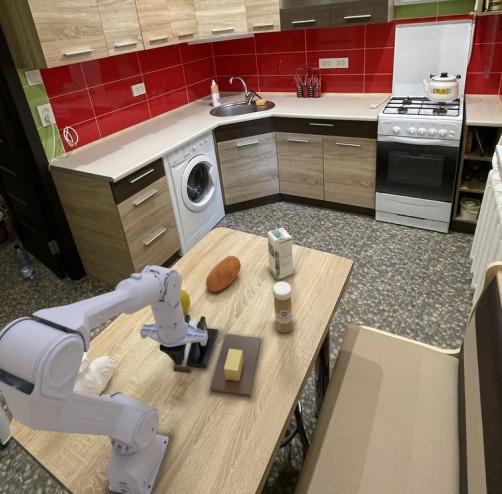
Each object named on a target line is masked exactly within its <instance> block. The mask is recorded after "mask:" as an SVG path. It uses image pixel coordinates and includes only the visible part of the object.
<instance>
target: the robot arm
mask: <svg viewBox="0 0 502 494" xmlns="http://www.w3.org/2000/svg"><path fill="white" fill-rule="evenodd" d="M182 284H183V275H181V274H180V273H179V271H178V270H176V269H172V268H168V267H163V266H160V265H156V264H155V265H153V264H148V265H146V266H145V267H144V268H143V269H142V271H141V272H140V273H137V272H133V273H131V274H130V277H129V278H126V279H122V280H121V281H120V282H119V283H118V284H117V285H116V286H115V289H114V290H113V291H110V292H106V293H103V294H99V295H96V296H93V297H89V298H86V299H83V300H79V301H77V302H73V303H70V304H66V305H61V306H60V305H59V306H55V307H49V308H43V309H39V310H37V311H35V312H33V313H32V314H31V315H32V316H34V317H37V318H36V319H35V318H33V317H30V316H23V317H18V318H16V319H14V320H12V321H10V322H9V323H8V324H7V325H5V326H4V327H3V328H2V329H1V330H0V391H1V394H2V396H3V398H4V400H5V402H6V404H7V406H8V409H9V411H10V413H11V416H12V418H13V419H14V421H16V422H18V423H19V424H21V425H22V426H24V427H27V428H29V429H31V430H33V431H41V432H51V433H52V432H53V433H65V434H77V435H89V436H90V435H91V436H102V437H108V438H109V441H110V444H111V449H110V456H109V459H108V462H107V465H106V467H105V469H104V475H105V477H106V479H107V481H108V488H107V489H108V490H109V491H111V492H115V493H119V494H151V493H152V491H153V487H154V485H155V482H156V478H157V476H158V474H159V470H160V468H161V464H162V462H163V458H164V455H165V453H166V450H167V447H168V444H169V441H170V438H169V436H167V435H161V434H157V430H158V427H159V425H160V424H159V423H160V412H159V411H160V410H159V409H158V408H157V407H156V406H151V405H148V404H146V403H143V402H142V401H139V400H137V399H135V398H132V397H130V396H128V395H125V394H123V393H122V392H121V391H119V390H115V391H112V392H110V393H109V394H101V395H94V394H90V393H86V392H81V391H77V390H73V389H74V386H75V382H76V379H77V376H78V372H79V369H80V366H81V362H82V358H83V354H84V352H86V353H87V352H88V350H90V346H91V335H90V332H91V330H93V329H94V328H96V327H99V326H100V325H101V324H103V323H105V322H106V321H108V320H110V319H112V318H113V317H115V316H117V315H118V314H120V313H122V314H125V315H134V314H135V313H137V312H139V311H141V310H143V309H145V308H147V307H149V306H150V308H151V311H152V315H153V320H154V323H143V324H142V326H141V328H140V330H139V335H140V338H141V339H146V338H147V337H148V338H150V339H151V340H153V341H155V342H156V343H158V344H159V346H158V347H159V351H160V352H163V353H164V354H166V355H167V356H168V357H169V358H170V359H171V360H172V362H173V363H174V364H175V365H180V366H181V365H182V362H183V360H184V355H185V346H186V344H188V343H193V342H200V343H201V345H204V346H205V345H206V342H207V339H208V334H207V331H203V330H200V329H198V328H196V327H194V326H192V325H190V324H188V323H186V322H185V319H184V318H185V315H184V314H183V310H182V306H181V301H180V299H181V295H182V294H181V290H182Z"/></svg>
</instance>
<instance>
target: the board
mask: <svg viewBox="0 0 502 494" xmlns="http://www.w3.org/2000/svg"><path fill="white" fill-rule="evenodd" d="M260 345H261V337H255V336H246V335H236V334H228V333H227V334H225V336H224V340H223V343H222V347H221V351H220V354H219V357H218V361H217V364H216V368H215V371H214V373H213V374H214V375H213V378H212V382H211V385H210V389H209V390H210V392H214V393H219V394H220V393H221V394H227V395H234V396H241V397H246V398H247V397H248V398H251V395H252V390H253V385H254V378H255V373H256V368H257V367H256V366H257V363H258V357H259V352H260V351H259V350H260ZM229 349H236V350H242V351H243V358H244V362H243V366H242V371H241V375H240V380H239V381H234V380H227V379H225V373H224V366H225V363H226V359H227V355H228V351H229Z"/></svg>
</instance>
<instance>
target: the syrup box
mask: <svg viewBox="0 0 502 494" xmlns="http://www.w3.org/2000/svg"><path fill="white" fill-rule="evenodd" d="M266 234H267V248H268V249H267V250H268V265H269V266H268V267H269V271H270V273H271V274H272V275H273V276H274V278H275V279H276V280H277V281H279V280H282V279H284V278H287V277H288V276H291V275H293V274H294V265H293V263H294V262H293V260H294V259H293V236H292V235H291V234H290V233H289V232H288V231H287V230H286V229H285V228H284V227H279V228H276V229H273V230H270V231H268V232H267V233H266Z"/></svg>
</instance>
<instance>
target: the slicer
mask: <svg viewBox="0 0 502 494" xmlns="http://www.w3.org/2000/svg"><path fill="white" fill-rule="evenodd" d="M184 319H185V322H186V323H188V324H189V321H190V320H192V319H191V315H190V314H185V315H184ZM198 322H199V323H198V326H197V328H198V329H200V330H203V331H207V334H208V339H207V342H206V345H205V346H204V345H201V343H200V342H193V343H192V347H191V351H190V355H189V359H188V363H187V367H194V368H195V367H196V368H203V369H207V368H208V366H209V363H210V360H211V356H212V353H213V350H214V347H215V343H216V340H217V337H218V335H219V334H218V333H219V329H218V328H210V327H208V326H207V325H208V324H207V320H206V316H203V315H202V316H200V319H199V320H198ZM185 348H186V346H185Z"/></svg>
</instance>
